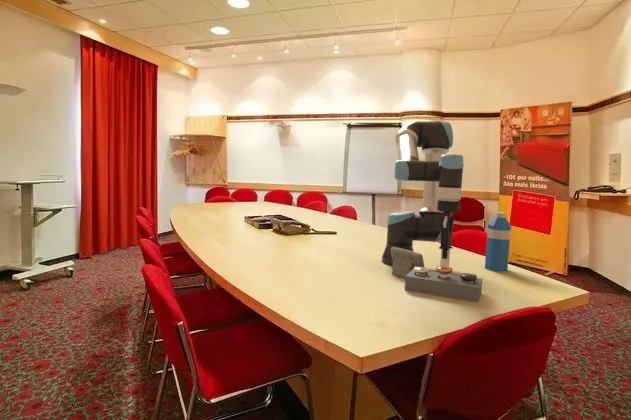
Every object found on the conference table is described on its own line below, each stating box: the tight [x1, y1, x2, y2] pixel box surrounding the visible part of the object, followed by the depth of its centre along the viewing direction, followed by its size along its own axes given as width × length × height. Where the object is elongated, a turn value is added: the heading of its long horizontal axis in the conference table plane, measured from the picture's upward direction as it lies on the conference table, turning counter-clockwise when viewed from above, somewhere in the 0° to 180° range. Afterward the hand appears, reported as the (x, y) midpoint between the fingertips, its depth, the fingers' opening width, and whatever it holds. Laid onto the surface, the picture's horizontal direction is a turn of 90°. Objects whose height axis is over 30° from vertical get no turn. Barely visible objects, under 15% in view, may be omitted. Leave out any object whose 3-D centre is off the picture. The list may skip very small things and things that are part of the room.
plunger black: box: [460, 272, 478, 283], centre depth 130 cm, size 5×5×5 cm
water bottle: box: [484, 211, 512, 273], centre depth 167 cm, size 9×9×25 cm
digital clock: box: [390, 247, 426, 279], centre depth 153 cm, size 16×9×11 cm, turn 23°
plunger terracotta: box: [436, 265, 453, 280], centre depth 134 cm, size 5×5×5 cm
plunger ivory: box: [413, 266, 430, 276], centre depth 138 cm, size 5×5×5 cm
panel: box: [404, 269, 483, 303], centre depth 134 cm, size 24×12×5 cm, turn 62°
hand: (444, 267), depth 133 cm, fingers closed
